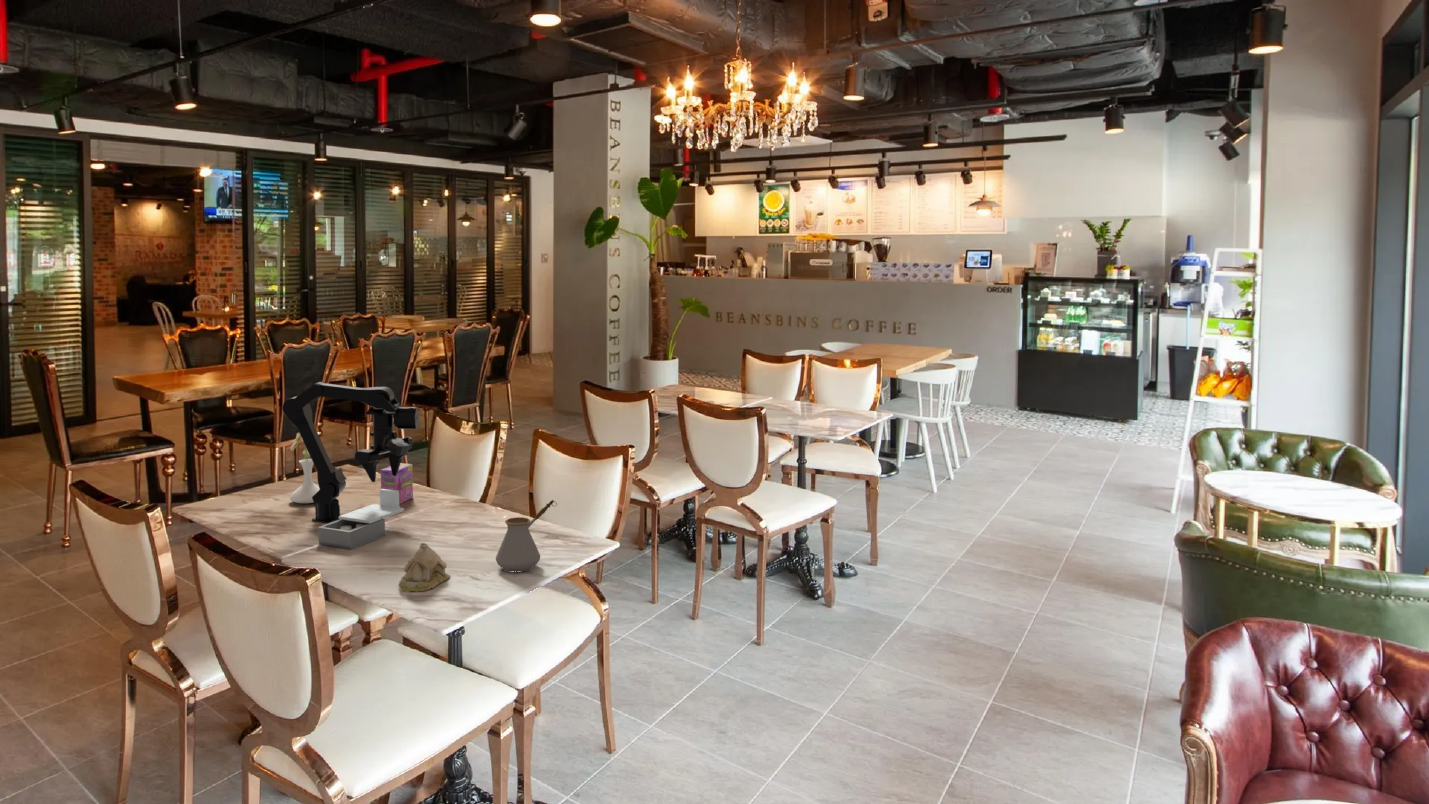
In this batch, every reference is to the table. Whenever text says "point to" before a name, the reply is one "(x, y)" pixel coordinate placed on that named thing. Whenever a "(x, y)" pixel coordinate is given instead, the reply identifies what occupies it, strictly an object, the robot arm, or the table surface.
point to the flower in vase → (308, 487)
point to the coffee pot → (519, 544)
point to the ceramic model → (423, 570)
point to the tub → (350, 533)
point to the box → (399, 481)
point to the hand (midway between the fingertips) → (384, 478)
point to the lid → (377, 508)
